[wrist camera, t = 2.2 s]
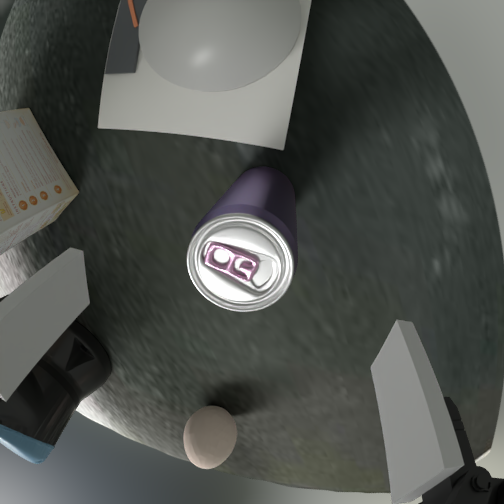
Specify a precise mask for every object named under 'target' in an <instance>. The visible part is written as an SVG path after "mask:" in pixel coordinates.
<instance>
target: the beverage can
mask: <svg viewBox="0 0 504 504" xmlns="http://www.w3.org/2000/svg"><path fill="white" fill-rule="evenodd" d="M297 263H298V246H297V223H296V204H295V192H294V188H293V186H292V184H291V182H290V180H289V179H288V178H287V177H286V176H285V175H284V174H283V173H282V172H280V171H279V170H277V169H274V168H271V167H255V168H252V169H249V170H247V171H246V172H244V173H243V174H242V175H241V176H240V177H239V178H238V179H237V180H236V181H235V182H234V183H233V185H232V186H231V187H230V188H229V189H228V190H227V191H226V192H225V193H224V195H223V196H222V197H221V198H220V199H219V200H218V201H217V202H216V204H215V205H214V206H213V207H212V208H211V209H210V210H209V212H208V213H207V214H206V215H205V216H204V217H203V219H202V220H201V221H200V222H199V223H198V225H197V226H196V228H195V230H194V232H193V234H192V237H191V240H190V244H189V247H188V251H187V268H188V272H189V275H190V277H191V280H192V282H193V283H194V285H195V286H196V288H197V289H198V290H199V292H200V293H201V294H202V295H203V296H204V297H206V298H207V299H208V300H209V301H211V302H212V303H214V304H216V305H218V306H220V307H222V308H225V309H228V310H232V311H239V312H250V311H256V310H260V309H263V308H266V307H268V306H270V305H272V304H274V303H275V302H277V301H278V300H279V299H280V298H281V297H282V296H283V295H284V294H285V293H286V291H287V290H288V288H289V286H290V284H291V282H292V279H293V277H294V274H295V272H296V268H297Z"/></svg>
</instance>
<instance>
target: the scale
mask: <svg viewBox="0 0 504 504" xmlns="http://www.w3.org/2000/svg"><path fill="white" fill-rule="evenodd" d="M310 6H311V0H120V4H119V8H118V11H117V15H116V19H115V23H114V27H113V32H112V36H111V41H110V46H109V51H108V56H107V61H106V67H105V73H104V79H103V86H102V93H101V101H100V110H99V120H98V128H103V129H124V130H140V131H152V132H163V133H174V134H183V135H191V136H199V137H207V138H214V139H221V140H228V141H234V142H241V143H247V144H252V145H258V146H264V147H269V148H274V149H279V150H284V146H285V140H286V135H287V130H288V125H289V120H290V114H291V109H292V104H293V99H294V93H295V88H296V83H297V77H298V72H299V67H300V61H301V56H302V50H303V45H304V39H305V34H306V28H307V23H308V17H309V12H310Z"/></svg>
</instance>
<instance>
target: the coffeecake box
mask: <svg viewBox="0 0 504 504" xmlns="http://www.w3.org/2000/svg"><path fill="white" fill-rule="evenodd" d="M78 193H79V191H78V189H77V188H76V186H75V185H74V183H73V182H72V180H71V178H70V177H69V175H68V174H67V172H66V170H65V169H64V167H63V166H62V164H61V163H60V161H59V159H58V158H57V156H56V154H55V153H54V151H53V149H52V148H51V146H50V144H49V143H48V141H47V139H46V137H45V136H44V134H43V132H42V130H41V129H40V127H39V125H38V123H37V121H36V120H35V118H34V116H33V114H32V112H31V110H30V108H24V109H16V110H9V111H2V112H0V255H1V254H3V253H4V252H6V251H7V250H9V249H10V248H12V247H13V246H15V245H16V244H18V243H20V242H21V241H23V240H24V239H26V238H27V237H29V236H31V235H32V234H34V233H36V232H37V231H39V230H41V229H42V228H44V227H46V226H47V225H49V224H51V223H52V222H54V221H55V220H56V219H57V218H58V216H59V215H60V214H61V213H62V211H63V210H64V209H65V208H66V207H67V206H68V205H69V204H70V202H71V201H72V200H73V199H74V198H75V197H76V196H77V195H78Z"/></svg>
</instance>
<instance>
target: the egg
mask: <svg viewBox="0 0 504 504" xmlns="http://www.w3.org/2000/svg"><path fill="white" fill-rule="evenodd" d="M236 439H237V428H236V424H235V421H234V419H233V417H232V416H231V415H230V414H229V413H228V412H227V411H226V410H225V409H223V408H222V407H219V406H206V407H203V408H201V409H199V410H197V411H196V412H195V413H194V414H193V415H192V416H191V417H190V418H189V420H188V422H187V424H186V427H185V430H184V438H183V440H184V447H185V451H186V454H187V456H188V458H189V459H190V461H191V462H192V463H193V464H194V465H196V466H197V467H200V468H203V469H210V468H214V467H216V466H218V465H220V464H221V463H222V462H224V461H225V460H226V459H227V458H228V456H229V455H230V454H231V452H232V451H233V448H234V446H235V443H236Z"/></svg>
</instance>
